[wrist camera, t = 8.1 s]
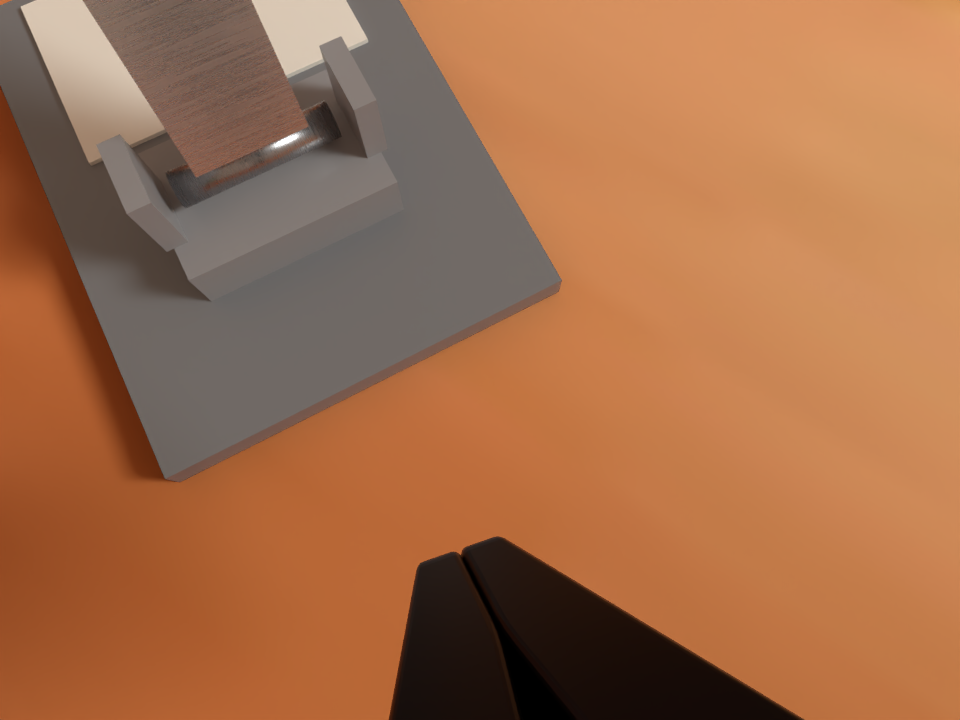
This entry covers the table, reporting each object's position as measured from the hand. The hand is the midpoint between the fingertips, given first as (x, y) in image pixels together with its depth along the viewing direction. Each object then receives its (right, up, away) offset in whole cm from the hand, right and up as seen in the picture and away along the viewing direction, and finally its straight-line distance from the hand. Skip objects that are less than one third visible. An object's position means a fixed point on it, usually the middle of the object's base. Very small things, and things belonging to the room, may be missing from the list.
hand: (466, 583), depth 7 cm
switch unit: (-7, +8, +16) cm, 19 cm away
